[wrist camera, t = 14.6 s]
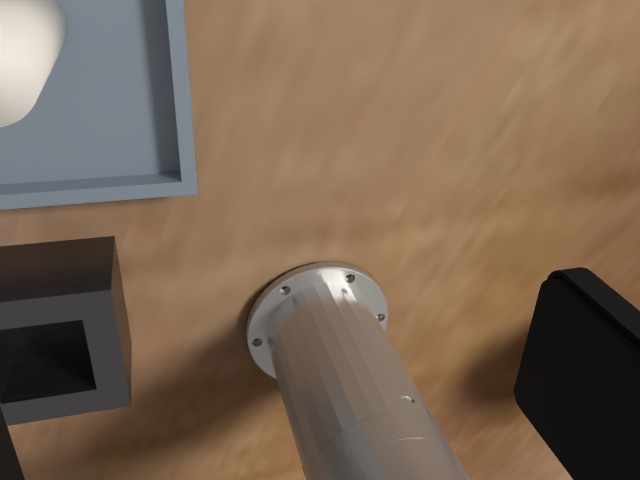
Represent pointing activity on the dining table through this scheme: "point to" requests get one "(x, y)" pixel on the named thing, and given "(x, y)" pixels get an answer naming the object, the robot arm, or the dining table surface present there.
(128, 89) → the tray
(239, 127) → the dining table surface
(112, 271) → the socket block
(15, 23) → the dowel pin
